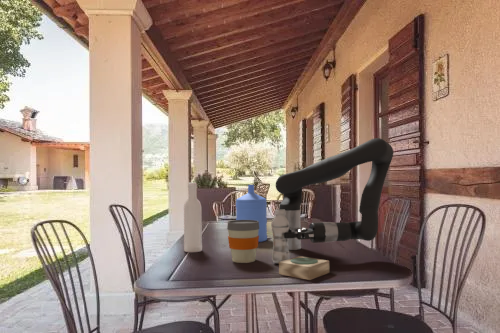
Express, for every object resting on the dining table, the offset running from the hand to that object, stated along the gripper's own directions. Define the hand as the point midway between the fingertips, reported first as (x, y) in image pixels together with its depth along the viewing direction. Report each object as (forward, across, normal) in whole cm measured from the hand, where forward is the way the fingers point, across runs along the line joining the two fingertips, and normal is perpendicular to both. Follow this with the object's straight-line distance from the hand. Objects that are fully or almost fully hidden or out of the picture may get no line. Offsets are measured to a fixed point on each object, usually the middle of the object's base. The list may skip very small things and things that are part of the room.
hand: (281, 233), depth 150 cm
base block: (-4, +16, +11) cm, 20 cm away
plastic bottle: (0, 0, +11) cm, 11 cm away
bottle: (+32, -34, +11) cm, 48 cm away
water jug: (+2, -56, +11) cm, 57 cm away
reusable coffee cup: (+13, -9, +11) cm, 19 cm away
